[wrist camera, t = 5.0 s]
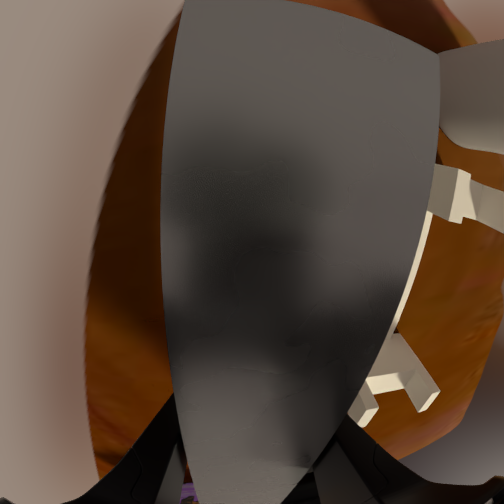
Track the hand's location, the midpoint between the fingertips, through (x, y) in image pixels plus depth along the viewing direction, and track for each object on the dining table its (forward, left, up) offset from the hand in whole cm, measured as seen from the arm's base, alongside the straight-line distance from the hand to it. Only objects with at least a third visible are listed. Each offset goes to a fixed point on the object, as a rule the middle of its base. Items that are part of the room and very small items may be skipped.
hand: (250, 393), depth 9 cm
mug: (+15, -18, -11) cm, 26 cm away
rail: (0, 0, -1) cm, 1 cm away
